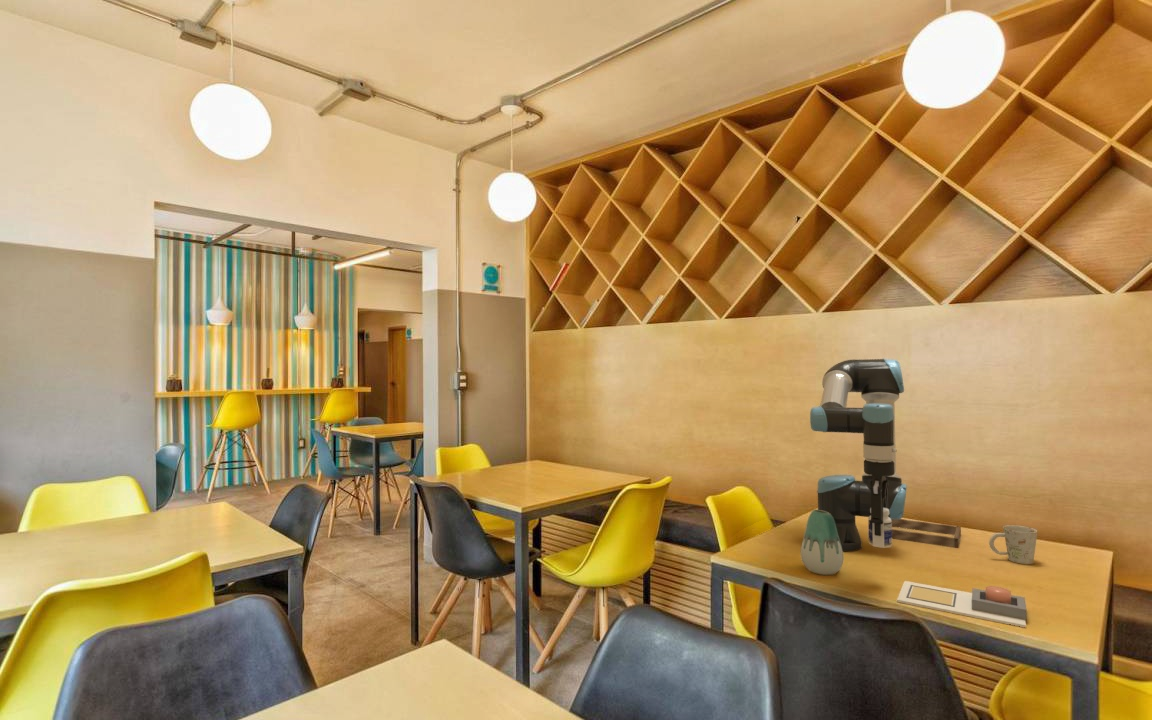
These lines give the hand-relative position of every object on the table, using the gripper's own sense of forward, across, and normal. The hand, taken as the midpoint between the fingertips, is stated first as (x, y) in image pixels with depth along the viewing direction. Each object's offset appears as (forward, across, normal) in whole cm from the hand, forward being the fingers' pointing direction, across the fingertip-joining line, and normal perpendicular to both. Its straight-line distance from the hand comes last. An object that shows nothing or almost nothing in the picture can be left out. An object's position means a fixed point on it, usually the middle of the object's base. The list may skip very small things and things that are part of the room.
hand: (880, 543), depth 159 cm
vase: (+12, +2, +16) cm, 20 cm away
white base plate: (+11, -3, -18) cm, 22 cm away
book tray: (+13, +60, -4) cm, 62 cm away
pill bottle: (+1, 0, 0) cm, 1 cm away
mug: (+13, +45, -30) cm, 56 cm away
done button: (+9, -3, -26) cm, 28 cm away
